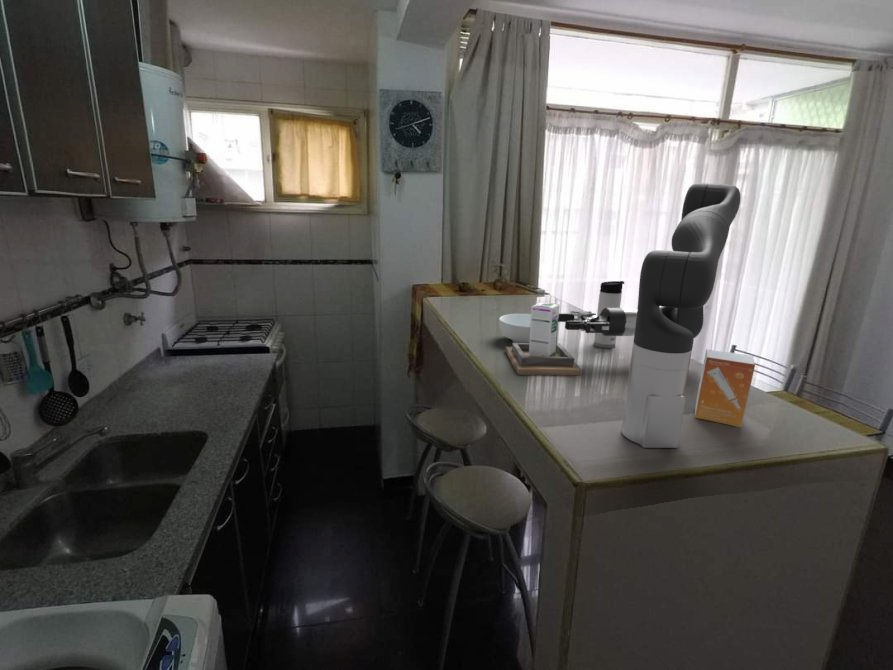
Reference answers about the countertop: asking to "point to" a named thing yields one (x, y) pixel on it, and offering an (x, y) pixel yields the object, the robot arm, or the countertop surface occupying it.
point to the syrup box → (544, 330)
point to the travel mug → (608, 299)
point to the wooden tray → (542, 361)
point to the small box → (724, 387)
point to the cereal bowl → (516, 327)
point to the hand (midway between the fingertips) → (560, 321)
